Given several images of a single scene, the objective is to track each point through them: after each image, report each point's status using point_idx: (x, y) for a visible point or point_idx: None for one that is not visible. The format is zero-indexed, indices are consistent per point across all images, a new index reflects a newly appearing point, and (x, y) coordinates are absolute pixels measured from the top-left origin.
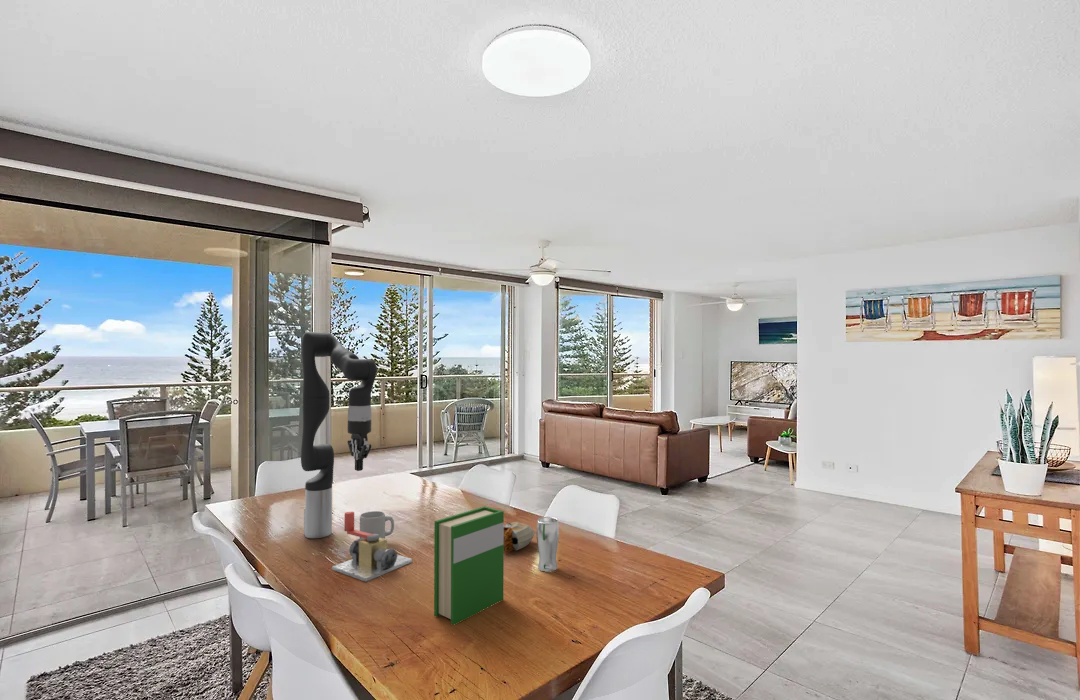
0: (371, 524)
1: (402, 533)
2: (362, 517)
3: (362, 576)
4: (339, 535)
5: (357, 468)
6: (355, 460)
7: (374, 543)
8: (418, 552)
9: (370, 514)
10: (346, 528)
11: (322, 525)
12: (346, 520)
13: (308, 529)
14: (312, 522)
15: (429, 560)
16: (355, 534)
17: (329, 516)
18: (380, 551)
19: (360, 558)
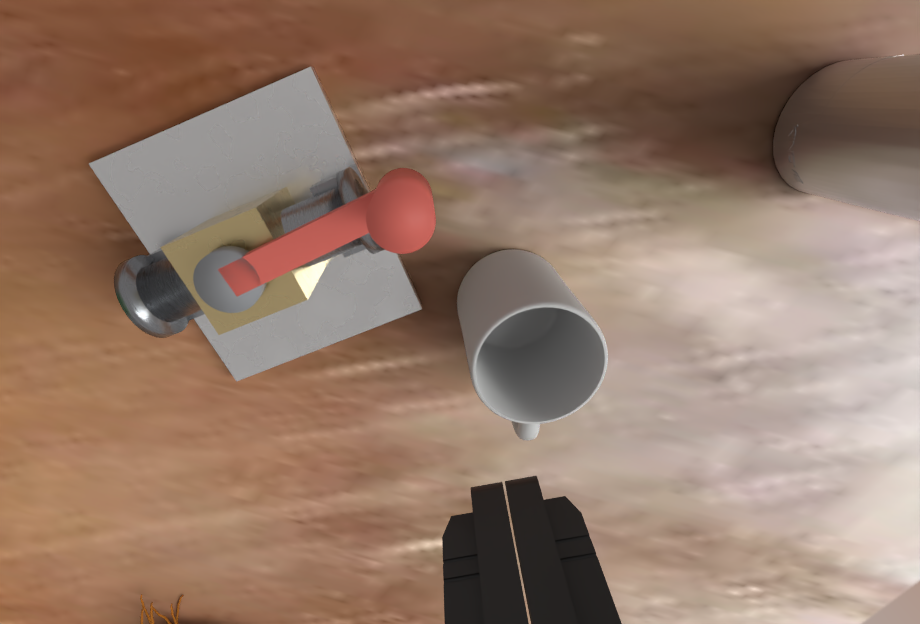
0: (472, 330)
1: (577, 432)
2: (521, 308)
3: (118, 158)
4: (743, 215)
5: (475, 517)
6: (549, 622)
7: (179, 267)
8: (333, 421)
9: (596, 364)
10: (383, 177)
11: (817, 140)
12: (381, 185)
13: (856, 67)
14: (866, 84)
15: (229, 427)
16: (332, 212)
17: (851, 188)
18: (173, 277)
19: (269, 195)
